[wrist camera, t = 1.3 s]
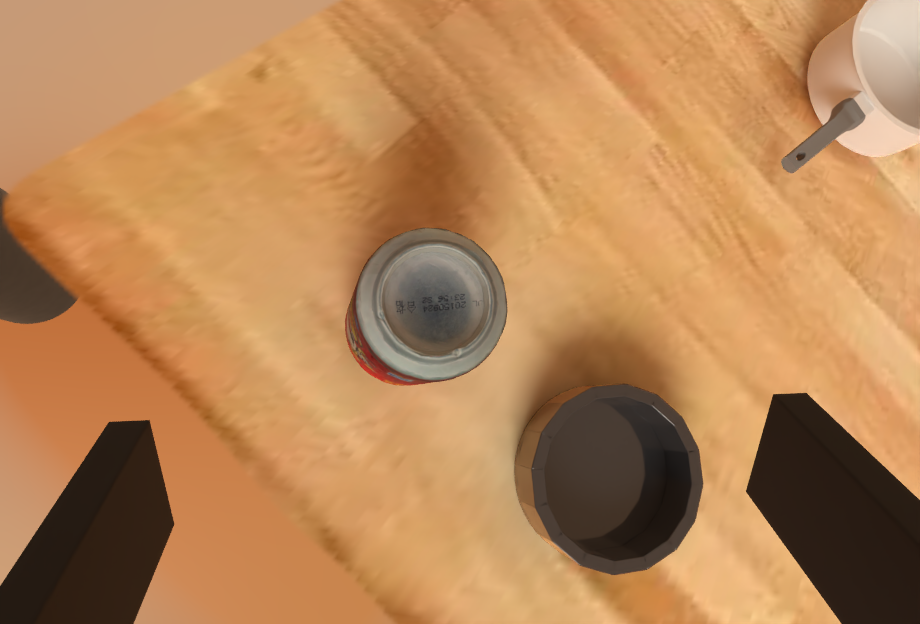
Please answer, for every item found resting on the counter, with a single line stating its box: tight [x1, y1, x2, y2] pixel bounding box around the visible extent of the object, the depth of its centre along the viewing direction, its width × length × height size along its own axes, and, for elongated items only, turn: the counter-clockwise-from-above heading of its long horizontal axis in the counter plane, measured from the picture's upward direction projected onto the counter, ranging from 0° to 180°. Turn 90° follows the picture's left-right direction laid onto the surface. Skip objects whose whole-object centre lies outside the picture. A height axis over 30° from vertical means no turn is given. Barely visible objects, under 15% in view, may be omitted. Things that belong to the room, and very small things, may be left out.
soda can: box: [345, 228, 507, 385], centre depth 34 cm, size 7×7×12 cm
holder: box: [515, 384, 703, 575], centre depth 40 cm, size 11×11×4 cm
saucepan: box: [781, 0, 920, 173], centre depth 47 cm, size 12×20×6 cm, turn 127°
